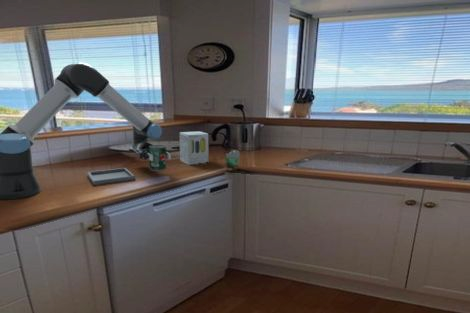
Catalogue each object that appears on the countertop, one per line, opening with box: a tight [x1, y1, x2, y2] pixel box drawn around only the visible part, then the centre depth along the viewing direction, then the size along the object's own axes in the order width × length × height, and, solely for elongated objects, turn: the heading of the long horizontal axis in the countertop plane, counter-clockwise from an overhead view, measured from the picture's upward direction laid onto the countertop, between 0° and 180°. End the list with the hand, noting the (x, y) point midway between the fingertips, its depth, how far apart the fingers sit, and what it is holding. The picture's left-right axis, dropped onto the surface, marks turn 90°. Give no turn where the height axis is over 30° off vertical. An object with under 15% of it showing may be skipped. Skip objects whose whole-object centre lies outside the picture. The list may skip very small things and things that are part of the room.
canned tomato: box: [148, 144, 167, 172], centre depth 148 cm, size 8×8×11 cm
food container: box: [225, 149, 241, 172], centre depth 167 cm, size 12×6×10 cm, turn 168°
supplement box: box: [179, 130, 209, 165], centre depth 184 cm, size 13×13×18 cm
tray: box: [86, 167, 136, 186], centre depth 148 cm, size 18×18×2 cm
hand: (161, 157), depth 144 cm, fingers closed on canned tomato, 8 cm apart
